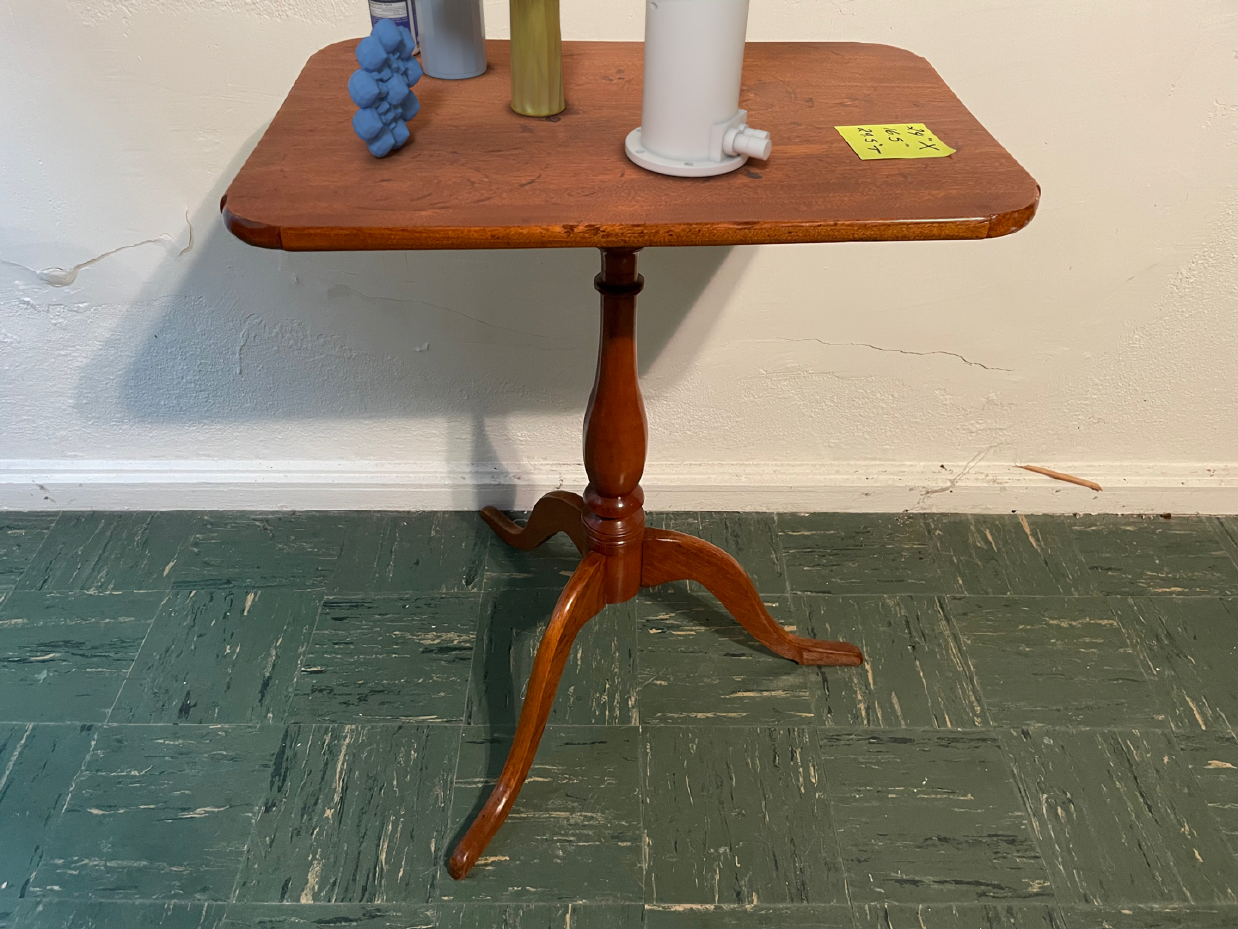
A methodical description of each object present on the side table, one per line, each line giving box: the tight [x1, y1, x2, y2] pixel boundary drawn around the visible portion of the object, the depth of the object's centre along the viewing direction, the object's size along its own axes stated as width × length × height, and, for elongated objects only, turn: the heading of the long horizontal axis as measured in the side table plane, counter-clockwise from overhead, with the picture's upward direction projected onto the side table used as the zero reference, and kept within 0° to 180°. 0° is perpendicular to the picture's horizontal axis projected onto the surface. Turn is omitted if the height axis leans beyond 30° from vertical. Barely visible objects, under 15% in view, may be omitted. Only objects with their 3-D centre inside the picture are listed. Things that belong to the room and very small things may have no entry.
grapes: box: [347, 18, 424, 158], centre depth 90 cm, size 12×7×12 cm, turn 161°
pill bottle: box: [367, 0, 420, 56], centre depth 114 cm, size 6×6×10 cm
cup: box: [415, 0, 488, 80], centre depth 110 cm, size 8×8×9 cm
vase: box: [508, 0, 566, 118], centre depth 99 cm, size 6×6×14 cm
